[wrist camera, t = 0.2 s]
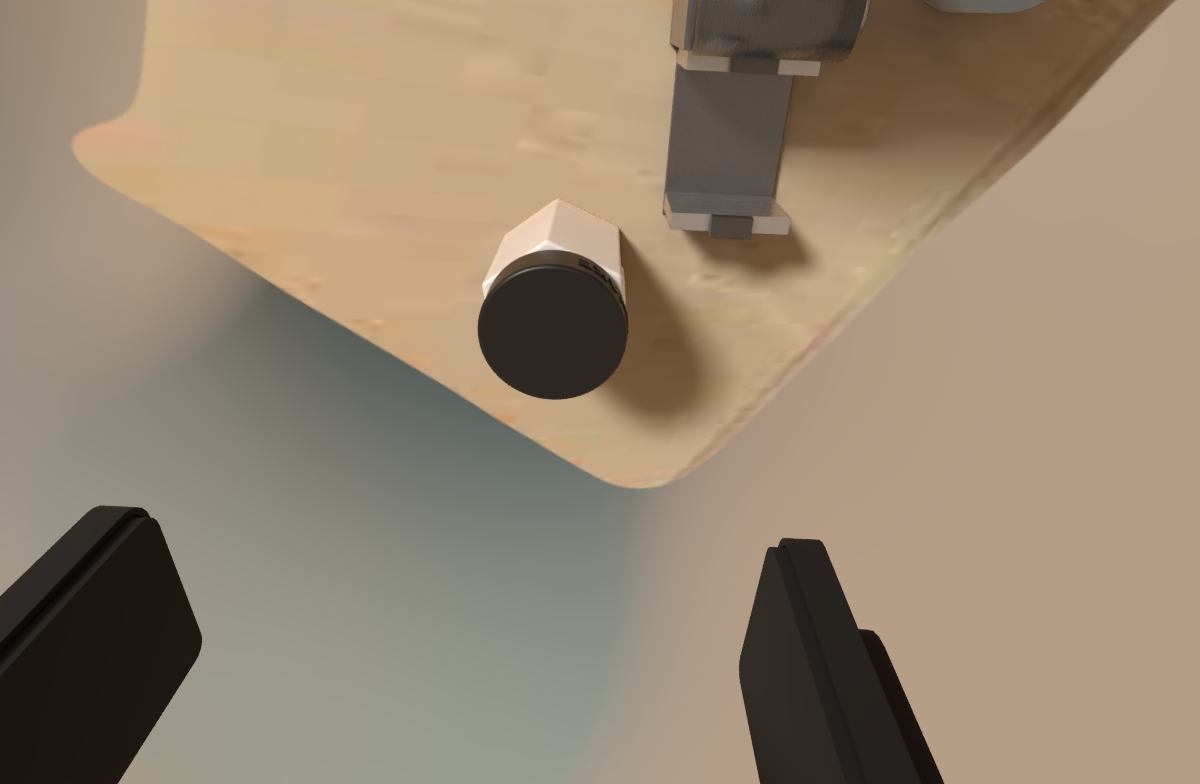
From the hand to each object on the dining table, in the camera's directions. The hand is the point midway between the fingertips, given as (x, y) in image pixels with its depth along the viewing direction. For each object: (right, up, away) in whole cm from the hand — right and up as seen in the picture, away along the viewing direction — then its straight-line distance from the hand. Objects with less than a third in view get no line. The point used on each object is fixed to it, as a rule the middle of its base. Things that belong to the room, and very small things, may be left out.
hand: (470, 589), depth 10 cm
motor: (+10, +21, +30) cm, 38 cm away
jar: (0, +12, +35) cm, 37 cm away
